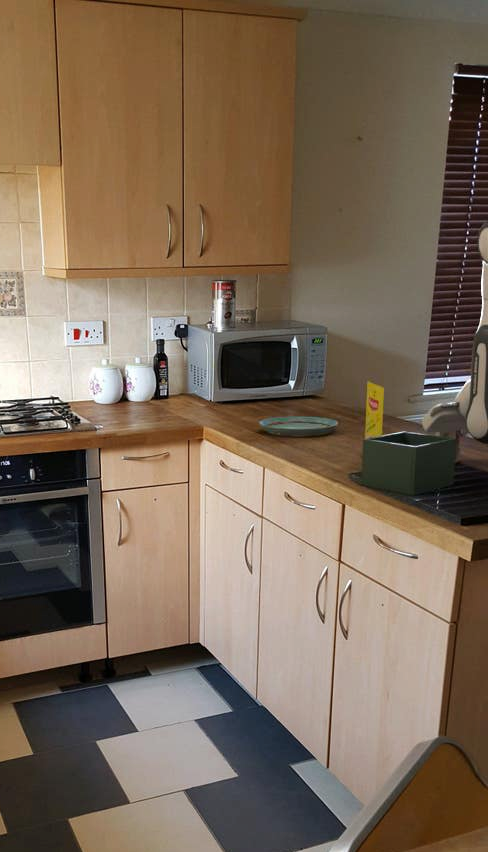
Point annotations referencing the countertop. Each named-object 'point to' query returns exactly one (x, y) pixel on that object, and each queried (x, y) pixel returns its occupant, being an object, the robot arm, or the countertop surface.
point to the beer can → (458, 436)
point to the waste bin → (408, 462)
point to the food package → (374, 410)
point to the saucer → (299, 426)
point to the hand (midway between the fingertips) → (449, 436)
